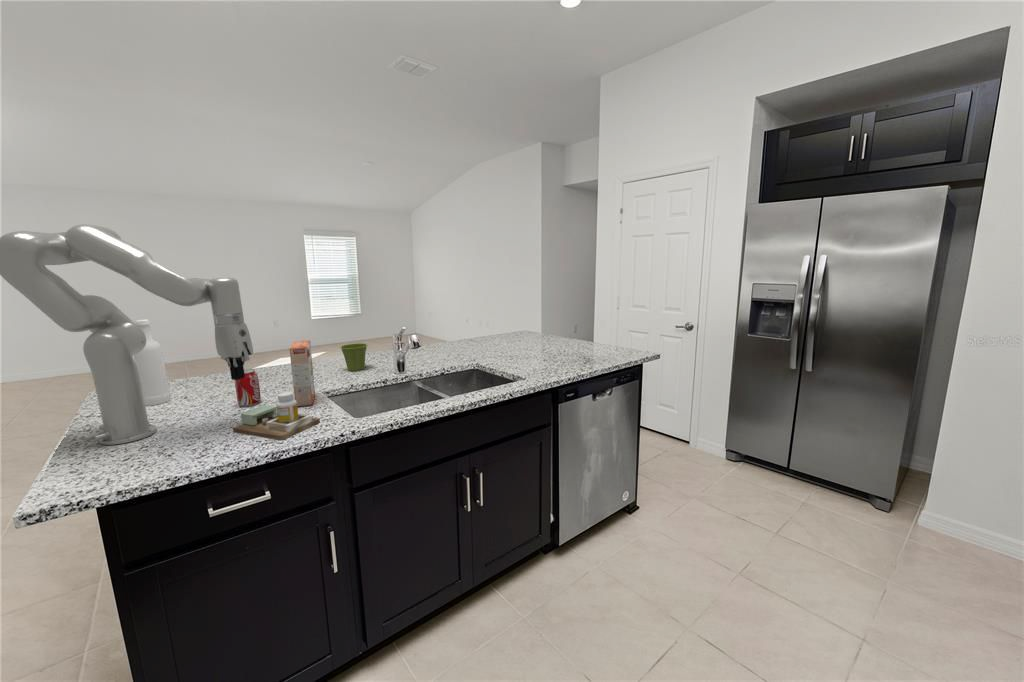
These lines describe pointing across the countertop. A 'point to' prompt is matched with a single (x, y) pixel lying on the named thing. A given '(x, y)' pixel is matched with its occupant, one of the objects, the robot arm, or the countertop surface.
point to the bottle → (152, 369)
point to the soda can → (248, 389)
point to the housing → (257, 414)
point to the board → (276, 427)
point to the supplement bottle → (287, 408)
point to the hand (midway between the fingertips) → (238, 378)
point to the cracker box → (302, 372)
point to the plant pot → (354, 356)
